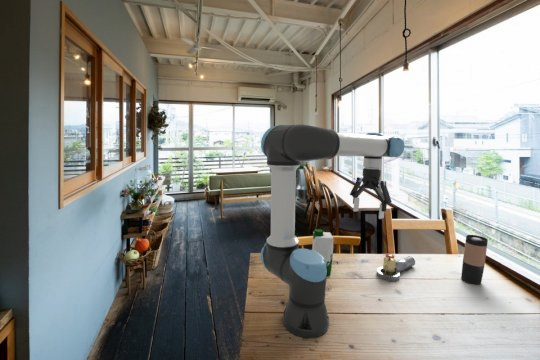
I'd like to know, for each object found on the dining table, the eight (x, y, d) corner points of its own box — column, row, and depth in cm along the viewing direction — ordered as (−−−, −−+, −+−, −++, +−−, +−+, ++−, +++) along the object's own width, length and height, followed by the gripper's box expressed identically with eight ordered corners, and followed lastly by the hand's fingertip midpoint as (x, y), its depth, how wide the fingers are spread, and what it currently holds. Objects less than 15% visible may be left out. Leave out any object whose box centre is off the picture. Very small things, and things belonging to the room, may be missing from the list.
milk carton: (310, 267, 131) (312, 227, 128) (329, 268, 131) (331, 227, 128) (312, 276, 122) (314, 233, 119) (333, 277, 122) (335, 234, 119)
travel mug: (474, 277, 125) (480, 235, 122) (486, 286, 117) (492, 241, 114) (456, 276, 126) (462, 234, 123) (466, 285, 118) (472, 240, 115)
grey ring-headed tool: (391, 283, 118) (392, 273, 117) (372, 274, 125) (373, 264, 125) (419, 269, 132) (420, 260, 131) (401, 262, 139) (402, 253, 138)
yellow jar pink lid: (390, 279, 121) (391, 258, 120) (380, 275, 125) (382, 254, 124) (396, 276, 124) (398, 256, 122) (386, 272, 128) (388, 252, 126)
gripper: (403, 170, 114) (398, 220, 117) (354, 165, 135) (351, 207, 138) (392, 171, 110) (387, 222, 113) (344, 165, 131) (341, 209, 133)
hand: (367, 214), depth 125 cm, fingers open, 13 cm apart
